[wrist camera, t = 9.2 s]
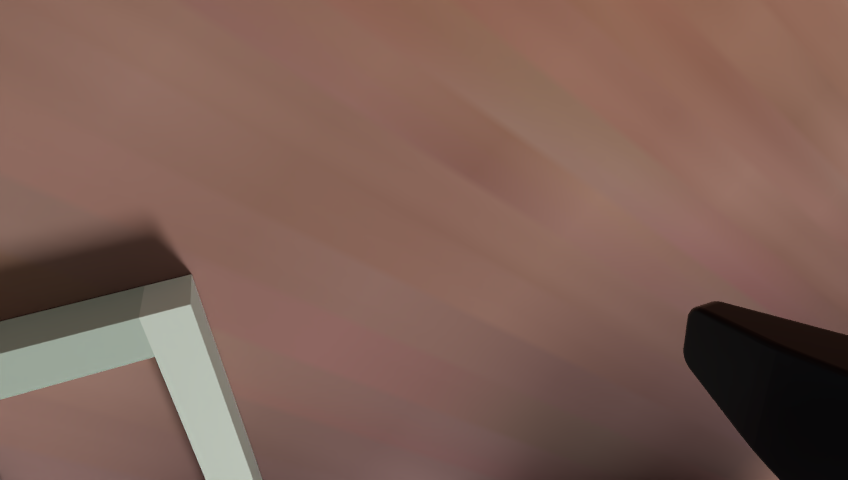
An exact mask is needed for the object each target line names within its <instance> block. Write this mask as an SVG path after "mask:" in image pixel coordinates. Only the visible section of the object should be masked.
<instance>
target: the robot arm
mask: <svg viewBox="0 0 848 480" xmlns="http://www.w3.org/2000/svg"><path fill="white" fill-rule="evenodd" d="M683 353H684V358H685V361H686V363H687V365H688V367H689V368H690V370H691V371H692V372H693V373H694V375H695V376H696V377H697V379H698V380H699V381H700V383H701V384H702V385H703V386H704V388H705V389H706V390H707V392H708V393H709V394H710V396H711V397H712V398H713V399H714V401H715V402H716V403H717V405H718V406H719V407H720V409H721V410H722V411H723V412H724V414H725V415H726V416H727V418H728V419H729V420H730V422H731V423H732V424H733V426H734V427H735V428H736V429H737V431H738V432H739V433H740V435H741V436H742V437H743V438H744V440H745V441H746V442H747V443H748V445H749V446H750V447H751V448H752V450H753V451H754V452H755V453H756V454H757V455H758V456H759V458H760V459H761V460H762V461H763V462H764V463H765V464H766V465H767V467H768V468H769V469H770V470H771V471H772V472H773V473H774V474H775V475H776V476H777V477H778V478H779V480H848V335H845V334H841V333H837V332H833V331H830V330H826V329H822V328H818V327H814V326H811V325H807V324H803V323H799V322H796V321H792V320H788V319H784V318H780V317H777V316H773V315H769V314H765V313H761V312H758V311H754V310H750V309H746V308H743V307H739V306H735V305H731V304H727V303H724V302H719V301H714V302H710V303H707V304H703V305H700V306H697V307H695V308H693V309H692V310H691V311H690V313H689V314H688V319H687V326H686V334H685V341H684V348H683Z"/></svg>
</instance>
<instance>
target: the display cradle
mask: <svg viewBox="0 0 848 480" xmlns="http://www.w3.org/2000/svg"><path fill="white" fill-rule="evenodd" d="M152 357H155V358H156V361H157V363H158V365H159V368H160V370H161V373H162V375H163V378H164V380H165V382H166V385H167V387H168V390H169V392H170V394H171V397H172V399H173V402H174V404H175V407H176V409H177V411H178V414H179V416H180V419H181V421H182V424H183V426H184V428H185V431H186V433H187V436H188V438H189V440H190V443H191V445H192V448H193V450H194V453H195V455H196V457H197V460H198V462H199V465H200V467H201V470H202V472H203V474H204V477H205V479H206V480H263V479H262V476H261V474H260V471H259V468H258V465H257V462H256V459H255V456H254V453H253V450H252V448H251V445H250V442H249V439H248V436H247V433H246V430H245V427H244V424H243V422H242V419H241V416H240V413H239V410H238V407H237V404H236V401H235V398H234V395H233V393H232V390H231V387H230V384H229V381H228V378H227V375H226V372H225V369H224V367H223V364H222V361H221V358H220V355H219V352H218V349H217V346H216V343H215V340H214V338H213V335H212V332H211V329H210V326H209V323H208V320H207V317H206V314H205V312H204V309H203V306H202V303H201V300H200V297H199V294H198V291H197V288H196V285H195V283H194V280H193V277H192V274H190V275H186V276H182V277H178V278H174V279H170V280H166V281H162V282H158V283H154V284H150V285H146V286H142V287H138V288H134V289H130V290H126V291H122V292H118V293H114V294H110V295H105V296H101V297H97V298H93V299H89V300H85V301H81V302H77V303H73V304H69V305H65V306H61V307H57V308H53V309H49V310H45V311H41V312H37V313H33V314H29V315H25V316H21V317H16V318H12V319H8V320H4V321H0V400H1V399H4V398H8V397H11V396H15V395H19V394H22V393H26V392H29V391H33V390H37V389H40V388H44V387H48V386H51V385H55V384H58V383H62V382H66V381H69V380H73V379H76V378H80V377H84V376H87V375H91V374H95V373H98V372H102V371H105V370H109V369H113V368H116V367H120V366H123V365H127V364H131V363H134V362H138V361H142V360H145V359H149V358H152Z"/></svg>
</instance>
